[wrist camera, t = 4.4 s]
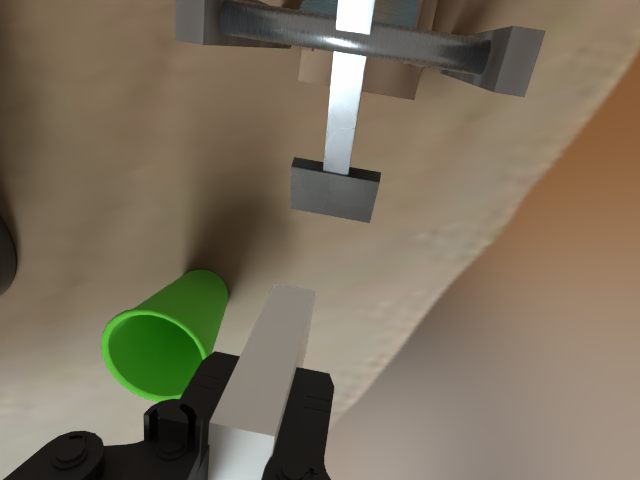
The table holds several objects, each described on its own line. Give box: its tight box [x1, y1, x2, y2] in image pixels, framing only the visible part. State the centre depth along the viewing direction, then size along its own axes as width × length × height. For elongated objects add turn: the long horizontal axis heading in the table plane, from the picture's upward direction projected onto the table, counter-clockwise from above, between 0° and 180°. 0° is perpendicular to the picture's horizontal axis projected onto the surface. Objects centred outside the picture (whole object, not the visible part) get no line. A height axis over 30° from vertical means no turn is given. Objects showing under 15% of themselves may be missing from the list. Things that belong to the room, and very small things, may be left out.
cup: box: [101, 270, 228, 402], centre depth 40 cm, size 9×9×11 cm
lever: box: [220, 0, 491, 223], centre depth 23 cm, size 11×19×12 cm
